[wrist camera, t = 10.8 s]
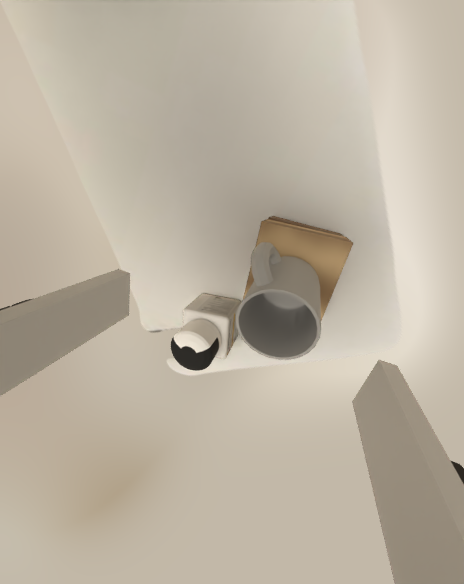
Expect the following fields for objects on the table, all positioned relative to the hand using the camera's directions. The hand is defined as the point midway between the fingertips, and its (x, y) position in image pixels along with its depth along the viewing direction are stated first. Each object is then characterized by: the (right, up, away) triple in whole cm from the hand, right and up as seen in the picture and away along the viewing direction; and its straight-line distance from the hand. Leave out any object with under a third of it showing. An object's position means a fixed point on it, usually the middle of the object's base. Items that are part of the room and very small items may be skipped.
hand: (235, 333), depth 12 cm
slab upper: (+8, +5, +20) cm, 22 cm away
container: (-2, -2, +32) cm, 32 cm away
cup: (+6, +4, +15) cm, 17 cm away
